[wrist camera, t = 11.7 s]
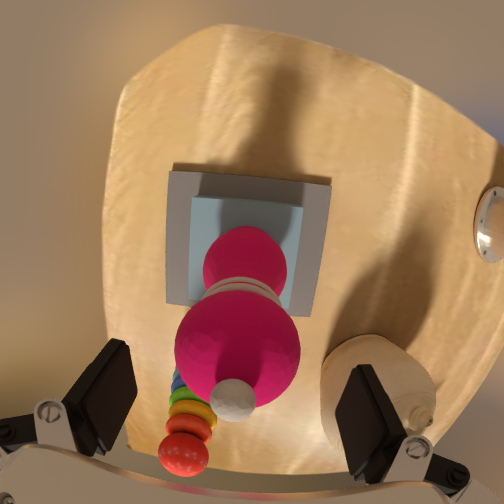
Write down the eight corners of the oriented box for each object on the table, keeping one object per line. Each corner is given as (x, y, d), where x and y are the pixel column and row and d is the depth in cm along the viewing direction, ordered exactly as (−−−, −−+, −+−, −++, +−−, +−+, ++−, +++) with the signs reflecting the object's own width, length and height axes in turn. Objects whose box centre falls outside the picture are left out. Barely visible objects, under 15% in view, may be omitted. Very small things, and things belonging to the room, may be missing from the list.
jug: (364, 405, 39) (408, 519, 15) (291, 388, 38) (313, 537, 14) (418, 339, 36) (503, 449, 12) (348, 309, 34) (440, 467, 10)
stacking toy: (170, 340, 35) (124, 447, 17) (226, 333, 35) (208, 453, 17) (187, 381, 37) (159, 484, 19) (238, 376, 37) (231, 488, 19)
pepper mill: (275, 293, 29) (302, 464, 9) (207, 283, 28) (146, 445, 9) (287, 226, 27) (361, 347, 8) (214, 215, 27) (124, 317, 7)
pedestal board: (329, 186, 30) (340, 187, 26) (308, 313, 34) (314, 329, 30) (171, 171, 29) (160, 170, 25) (168, 299, 33) (159, 314, 30)
